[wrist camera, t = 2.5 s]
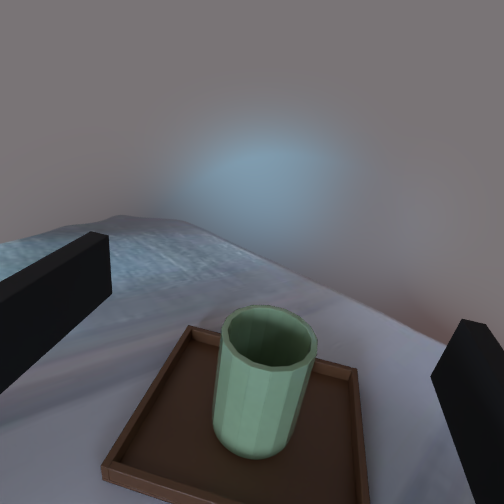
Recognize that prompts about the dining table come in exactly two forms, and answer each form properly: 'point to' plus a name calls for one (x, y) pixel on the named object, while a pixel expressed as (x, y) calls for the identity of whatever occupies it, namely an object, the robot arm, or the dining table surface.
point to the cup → (261, 379)
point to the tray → (227, 463)
